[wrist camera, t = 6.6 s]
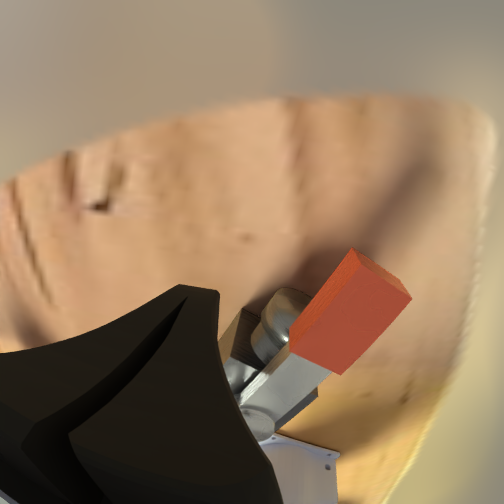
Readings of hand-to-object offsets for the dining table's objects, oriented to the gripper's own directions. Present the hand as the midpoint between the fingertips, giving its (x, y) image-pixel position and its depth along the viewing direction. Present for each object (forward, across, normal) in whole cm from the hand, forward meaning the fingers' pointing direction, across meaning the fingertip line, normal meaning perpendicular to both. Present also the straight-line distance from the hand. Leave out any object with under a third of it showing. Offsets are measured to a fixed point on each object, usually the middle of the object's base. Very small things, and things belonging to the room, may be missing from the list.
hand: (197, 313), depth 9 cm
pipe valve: (+10, -2, +10) cm, 14 cm away
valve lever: (+4, -4, +5) cm, 8 cm away
